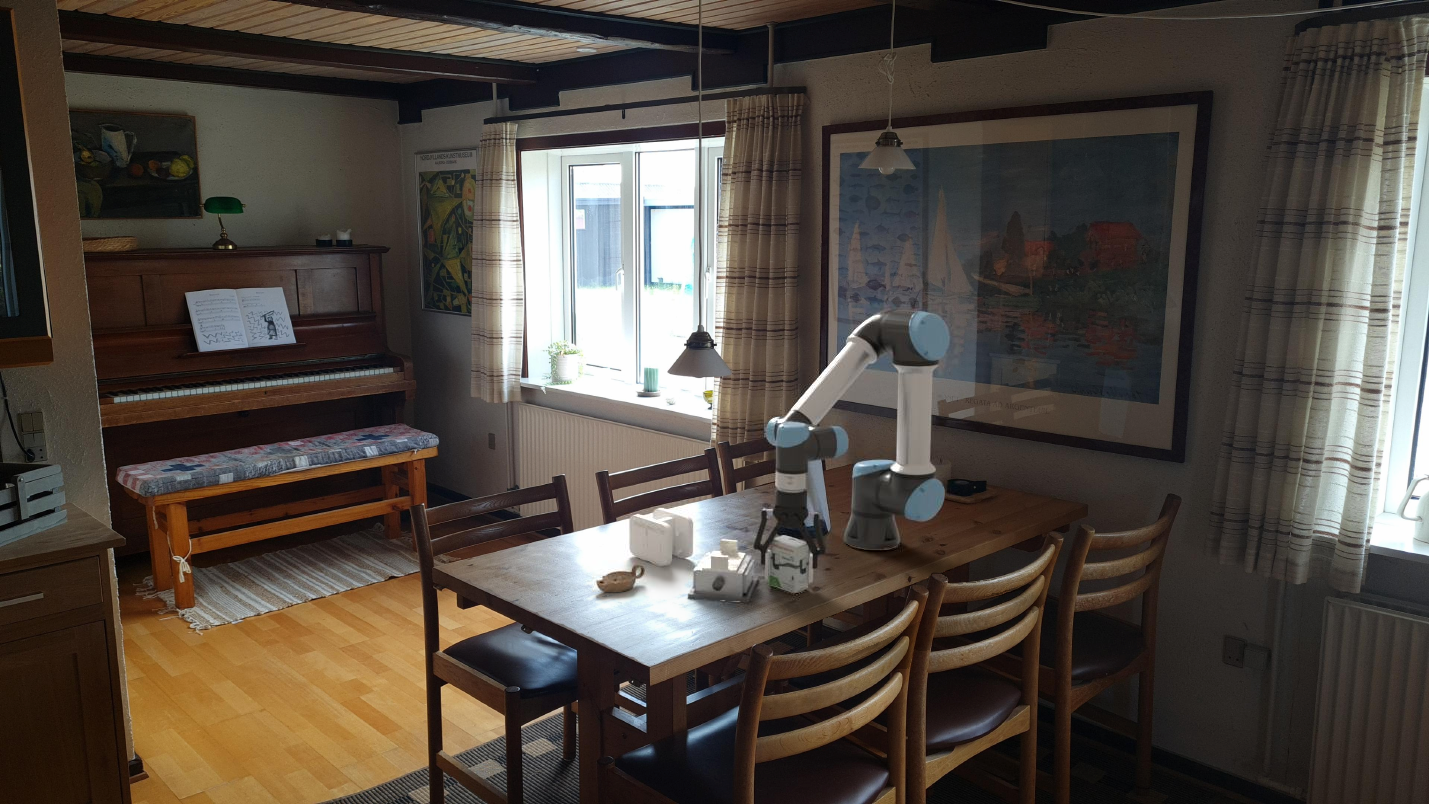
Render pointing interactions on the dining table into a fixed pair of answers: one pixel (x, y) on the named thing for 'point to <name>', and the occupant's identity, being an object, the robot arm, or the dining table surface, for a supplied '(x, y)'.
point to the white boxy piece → (724, 575)
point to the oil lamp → (620, 580)
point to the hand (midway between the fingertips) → (788, 579)
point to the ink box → (789, 563)
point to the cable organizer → (661, 536)
